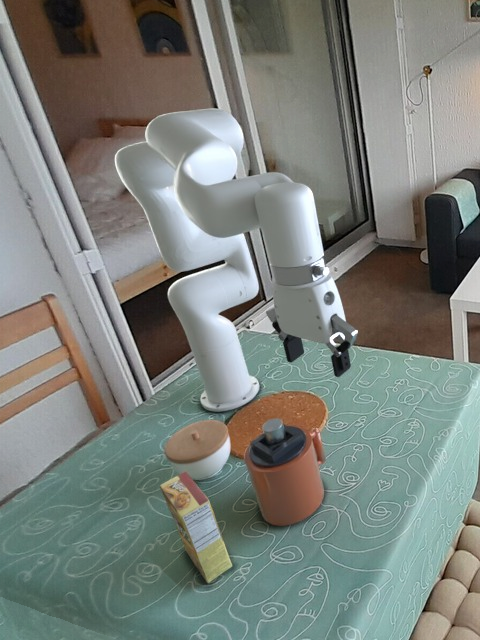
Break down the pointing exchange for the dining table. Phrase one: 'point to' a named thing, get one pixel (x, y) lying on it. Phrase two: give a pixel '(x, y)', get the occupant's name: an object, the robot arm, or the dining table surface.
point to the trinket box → (199, 449)
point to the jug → (287, 475)
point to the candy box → (196, 525)
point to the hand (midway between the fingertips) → (319, 364)
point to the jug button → (274, 431)
